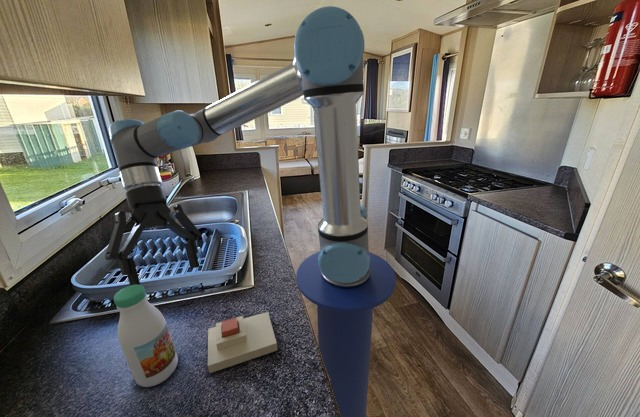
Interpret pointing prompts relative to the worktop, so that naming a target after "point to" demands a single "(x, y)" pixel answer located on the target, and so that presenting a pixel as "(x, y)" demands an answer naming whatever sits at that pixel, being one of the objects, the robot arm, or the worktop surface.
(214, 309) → the worktop surface
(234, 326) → the red switch button
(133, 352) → the milk bottle
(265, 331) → the light switch
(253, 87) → the robot arm
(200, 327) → the worktop surface
